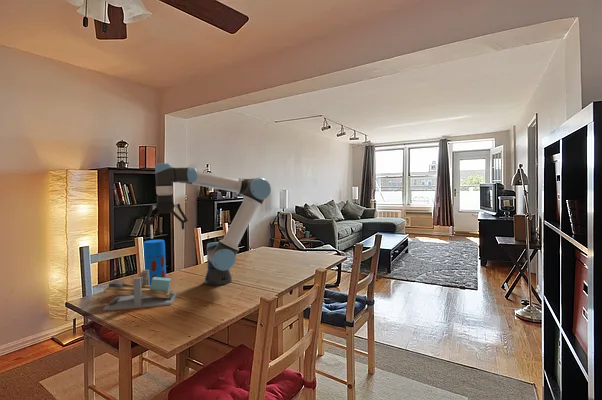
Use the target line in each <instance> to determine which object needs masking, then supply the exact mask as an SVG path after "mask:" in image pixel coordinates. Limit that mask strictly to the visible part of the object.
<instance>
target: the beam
mask: <svg viewBox="0 0 602 400" xmlns="http://www.w3.org/2000/svg"><path fill="white" fill-rule="evenodd" d="M139 277H141V289H142V296H147V297H160V298H168V297H169V296H170V294H171V292H173V288H170V290H169V292H168V293H167V291H155V290H150V289H151V286H149V285H146V283H147V277H148V272H142V271H141V273H140V276H135V278H139ZM103 294H110V295H120V296H130V295H134V284H133V283H126V282H125V281H124V280H115V279H113V280H112V281H110V282H109V283H108V287H106V288H105V289H103Z"/></svg>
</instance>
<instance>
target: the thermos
mask: <svg viewBox="0 0 602 400" xmlns="http://www.w3.org/2000/svg"><path fill="white" fill-rule="evenodd" d="M143 261H144V263H143V264H144V270H149V279H150V286H151V282H152V279H153V277H161V278H167V267H166V266H167V265H166V263H167V261H166V243H165V240H164V239H150V240H145V241H144V242H143Z"/></svg>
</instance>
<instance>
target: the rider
mask: <svg viewBox="0 0 602 400" xmlns="http://www.w3.org/2000/svg"><path fill="white" fill-rule="evenodd" d="M171 282H172V278H171V277H166V278H161V277H153V279H152V282H151V289H150V290H155V291H167V293H168V292H169V290H170V289H171Z"/></svg>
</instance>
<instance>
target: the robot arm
mask: <svg viewBox="0 0 602 400" xmlns="http://www.w3.org/2000/svg"><path fill="white" fill-rule="evenodd" d="M154 170H155V171H154V173H155V174H154V175H155V190H156V191H155V192H156V205H153V204H151V205H149V210H148V213H147V214H146V217H145V219H144V221H143V225H147V231H148V233H150V240H154V232H153V231H154V228H153V224H152V223H153V222H154V221H155V220H156V219H157V217H159V215H160V214H161V215H162V214H163V215H165V214H172V215H173V216H174V217H175V218H176V219H177V220H178V221H179V229H180V230H179V231H180V237H183V230H184V229H185V223H187V222H188V220H189V219H188V218H187V216H186V214H185V213H184V211H183V210H182V208H181V204H180V203H177V204H175V203H174V195H173V193H174V189H173V188H174V187H173V183H179V184H187V185H192V186H194V185H195V186H199V187H205V188H209V189H211V188H212V189H216V190H221V191H227V192H233V193H235V194H237V195H241V196H242V198H243V200H242V202H241V205H240V206H239V208H238V209H237V212H236V214H235V216H234V218H233V219H232V221H231V224H230V225H229V227H228V229H227V231H226V233H225V235H224V237H223V238H222V239H220V240H219V241H216V242H215V241H214V242H208V243H207V244H206V258H207V262H206V264H207V265H206V266H207V270H206V274H205V276H204V285H206V286H207V285H208V286H222V285H226V284H229V283H231V282H232V281H233V276H232V274H231V271H230V269H232V268H233V267H234V266H235V263H236V261H237V257H236V256H237V254H238V252H239V251H240V248H239V244H240V242H241V240H242V239H243V237H244V234H245V232H246V230H247V229H248V226H249V225H250V222H251V220H252V219H253V217H254V215H255V213H256V211H257V209H258V208H259V207H260V206H262V205H263V203H264V201H265V199H268V197H269V196H270V195H271V192H272V186H271V184H270V182H269V180H267V179H265V178H262V177H255V178H242V177H239V178H238V179H237V178H233V177H227V176H222V175H216V174H210V173H205V172H201V171H197V168H196V167H190V166H188V167H173V166H172V164H171V163H164V162H163V163H156V164H155V165H154ZM174 208H175V209H177V210H178V212H179V213H180V215H181V216H182V217H180V216H179V215H178V213H176V211H174ZM155 209H157V212H156V213H155V214H154V216H152V218H151V219H150V217H151V215H152V214H153V211H154V210H155Z"/></svg>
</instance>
